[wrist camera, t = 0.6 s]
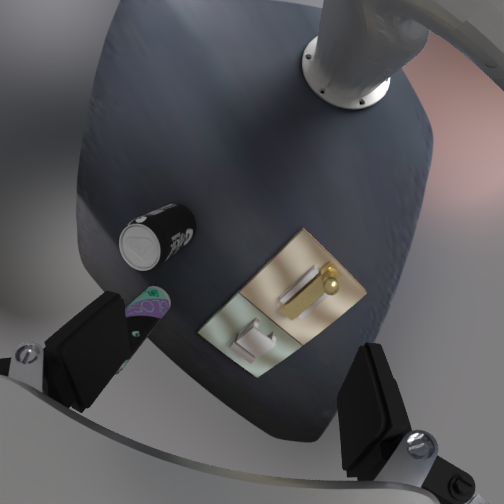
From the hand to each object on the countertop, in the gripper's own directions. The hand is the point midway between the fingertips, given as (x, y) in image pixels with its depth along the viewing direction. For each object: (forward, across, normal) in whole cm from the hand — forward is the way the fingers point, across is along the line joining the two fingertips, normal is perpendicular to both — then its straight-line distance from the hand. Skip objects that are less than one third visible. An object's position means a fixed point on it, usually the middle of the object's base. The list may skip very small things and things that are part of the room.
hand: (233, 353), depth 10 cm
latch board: (+31, -3, +16) cm, 35 cm away
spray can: (+31, +18, +19) cm, 41 cm away
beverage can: (+31, +15, +4) cm, 34 cm away
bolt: (+29, -7, +10) cm, 31 cm away
